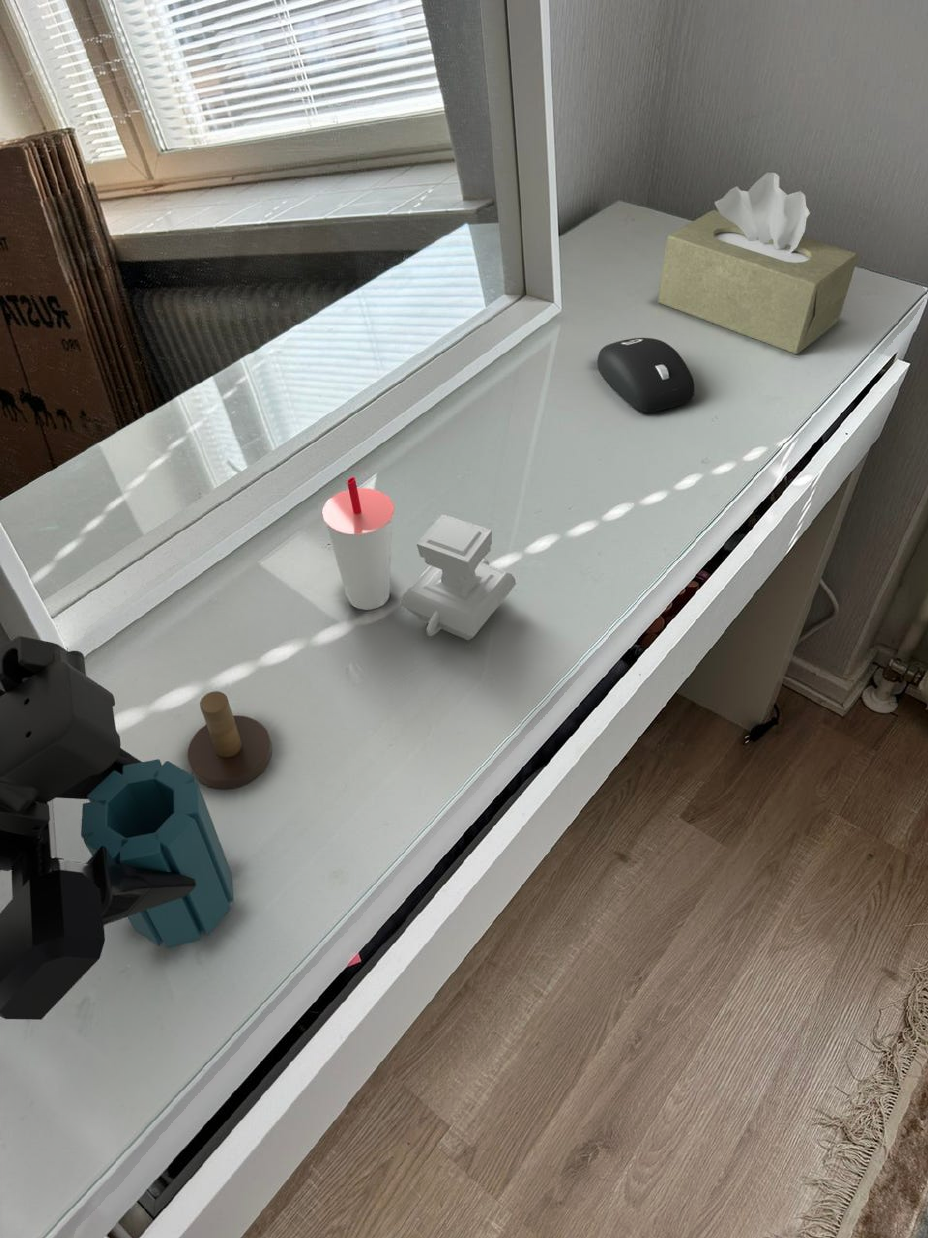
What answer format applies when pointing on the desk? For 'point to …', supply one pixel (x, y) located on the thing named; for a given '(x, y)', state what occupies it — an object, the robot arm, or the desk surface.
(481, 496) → the desk surface
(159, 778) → the sleeve
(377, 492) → the cup
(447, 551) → the stamp
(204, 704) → the dowel stand
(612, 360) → the computer mouse
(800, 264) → the tissue box
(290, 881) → the desk surface
